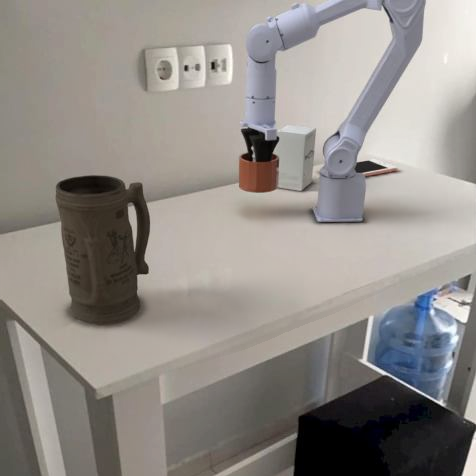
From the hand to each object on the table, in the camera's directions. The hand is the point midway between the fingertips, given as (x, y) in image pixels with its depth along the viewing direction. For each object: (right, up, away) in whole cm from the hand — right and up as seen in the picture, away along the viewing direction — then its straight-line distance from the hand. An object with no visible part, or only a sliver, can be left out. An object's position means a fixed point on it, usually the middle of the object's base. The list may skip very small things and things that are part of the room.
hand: (258, 168), depth 130 cm
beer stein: (-24, -32, -28) cm, 49 cm away
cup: (0, -3, +2) cm, 4 cm away
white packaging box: (+9, +4, +21) cm, 24 cm away
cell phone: (+26, +10, +30) cm, 41 cm away
